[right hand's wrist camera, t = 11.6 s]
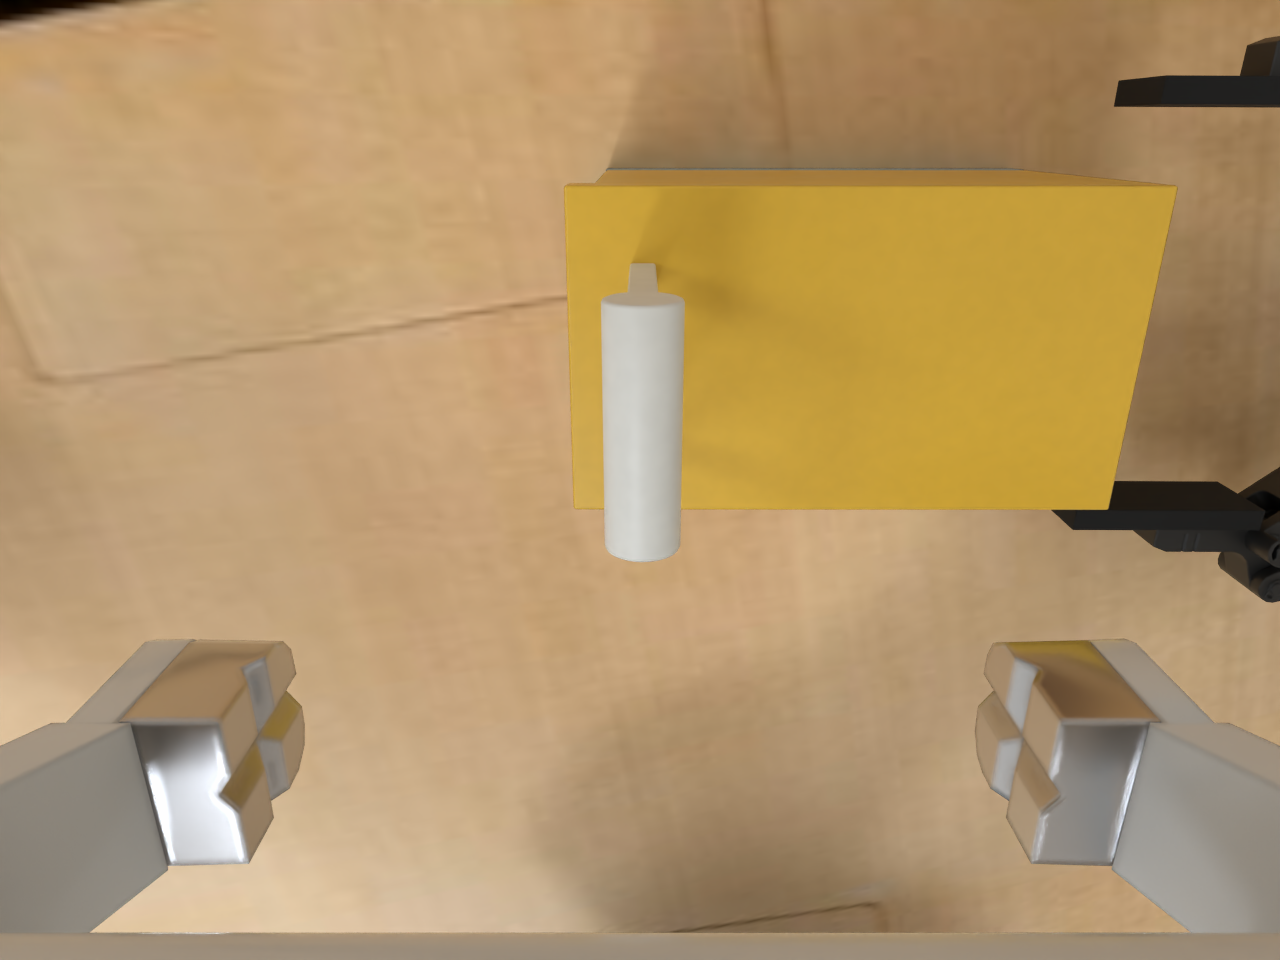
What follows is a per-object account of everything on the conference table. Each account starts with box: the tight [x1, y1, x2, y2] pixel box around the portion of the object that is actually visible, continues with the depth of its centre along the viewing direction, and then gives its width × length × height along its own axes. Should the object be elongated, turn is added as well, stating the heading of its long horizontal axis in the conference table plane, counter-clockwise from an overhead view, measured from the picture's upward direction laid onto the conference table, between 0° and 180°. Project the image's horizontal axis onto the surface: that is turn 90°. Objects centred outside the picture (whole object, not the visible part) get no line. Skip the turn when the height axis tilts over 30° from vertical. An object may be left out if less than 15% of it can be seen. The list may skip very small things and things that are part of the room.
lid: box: [564, 183, 1178, 562], centre depth 22 cm, size 16×9×8 cm, turn 90°
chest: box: [596, 168, 1146, 183], centre depth 31 cm, size 16×10×10 cm, turn 90°
